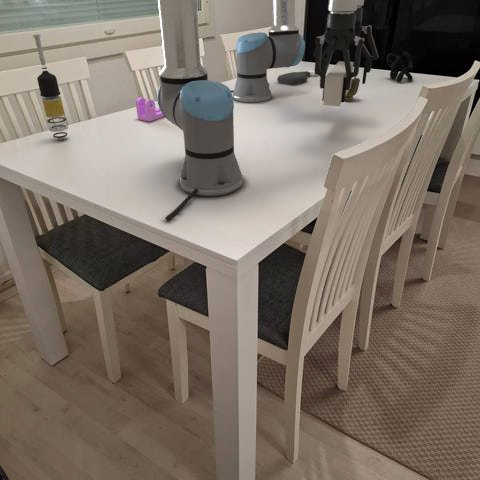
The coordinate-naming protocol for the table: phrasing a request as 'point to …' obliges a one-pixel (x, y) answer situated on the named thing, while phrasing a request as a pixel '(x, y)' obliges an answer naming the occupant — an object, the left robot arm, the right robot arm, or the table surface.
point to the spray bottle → (294, 77)
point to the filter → (50, 95)
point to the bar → (335, 84)
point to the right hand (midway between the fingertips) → (342, 81)
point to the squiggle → (399, 66)
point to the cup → (353, 89)
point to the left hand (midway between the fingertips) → (333, 100)
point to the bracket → (147, 110)
